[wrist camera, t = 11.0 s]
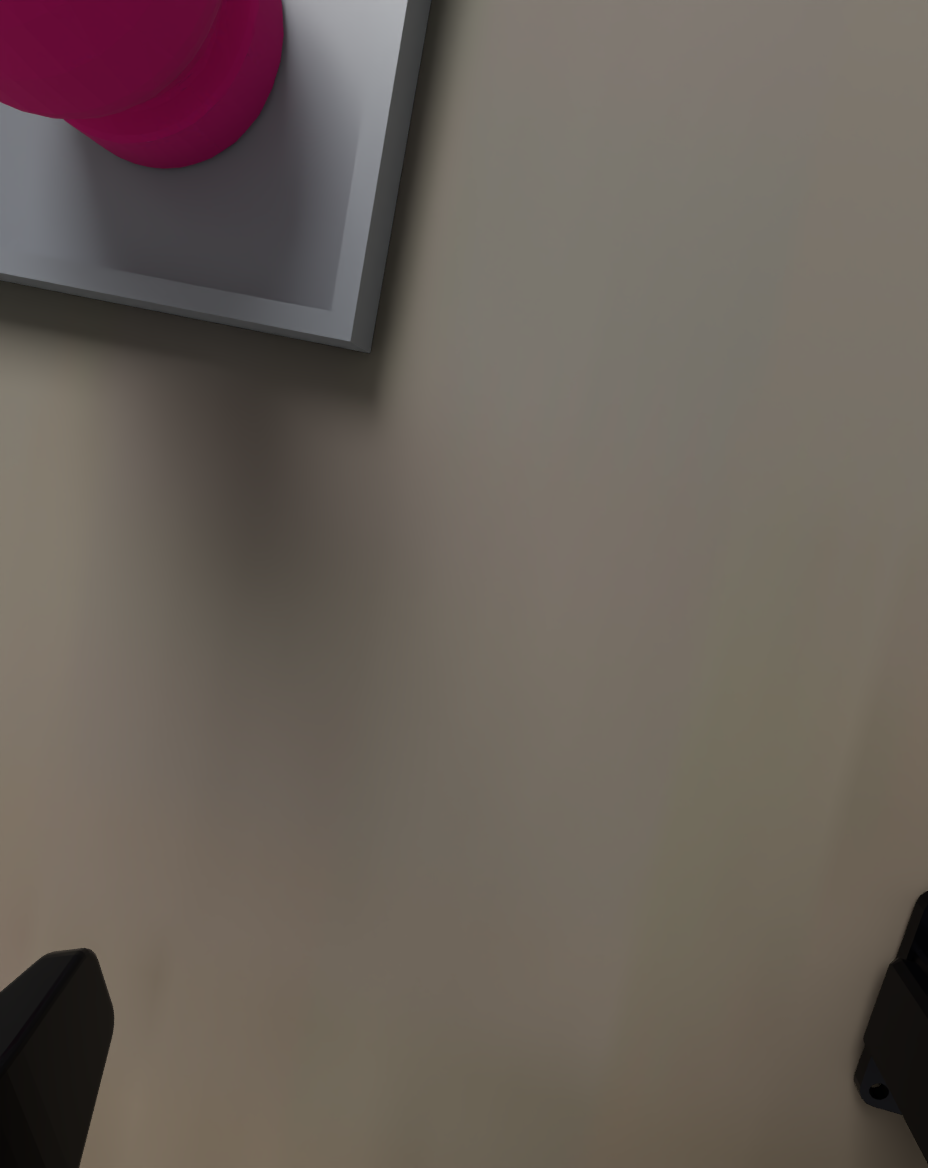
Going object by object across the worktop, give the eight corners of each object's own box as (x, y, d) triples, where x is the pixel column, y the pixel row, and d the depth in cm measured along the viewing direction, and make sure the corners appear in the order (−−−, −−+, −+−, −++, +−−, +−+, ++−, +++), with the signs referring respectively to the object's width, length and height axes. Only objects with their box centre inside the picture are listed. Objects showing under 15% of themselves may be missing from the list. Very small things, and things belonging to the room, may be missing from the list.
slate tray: (470, -228, 17) (459, -312, 15) (370, 353, 19) (350, 341, 17) (-42, -286, 18) (-109, -368, 16) (-76, 265, 20) (-136, 245, 19)
